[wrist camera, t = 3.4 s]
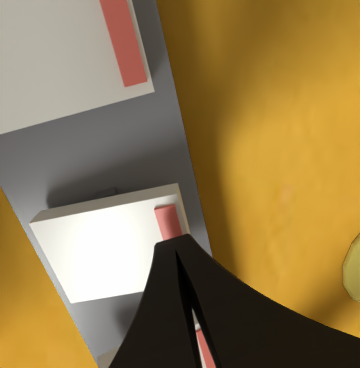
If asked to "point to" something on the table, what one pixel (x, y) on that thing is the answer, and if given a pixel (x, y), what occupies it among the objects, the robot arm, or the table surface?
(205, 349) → the rocker
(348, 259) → the candle
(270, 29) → the table surface
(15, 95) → the rocker
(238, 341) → the robot arm
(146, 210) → the rocker
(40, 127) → the strip
